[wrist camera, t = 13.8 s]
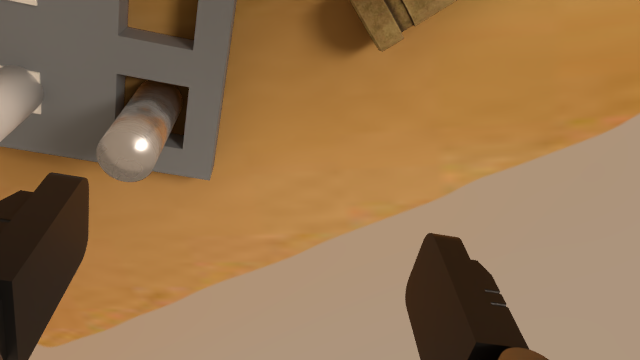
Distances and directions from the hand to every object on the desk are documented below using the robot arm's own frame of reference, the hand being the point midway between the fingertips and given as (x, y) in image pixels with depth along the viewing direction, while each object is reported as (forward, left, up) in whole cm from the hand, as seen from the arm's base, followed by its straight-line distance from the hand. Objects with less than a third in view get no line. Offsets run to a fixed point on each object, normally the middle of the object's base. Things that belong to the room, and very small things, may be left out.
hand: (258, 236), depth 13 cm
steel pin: (+8, +10, -30) cm, 33 cm away
